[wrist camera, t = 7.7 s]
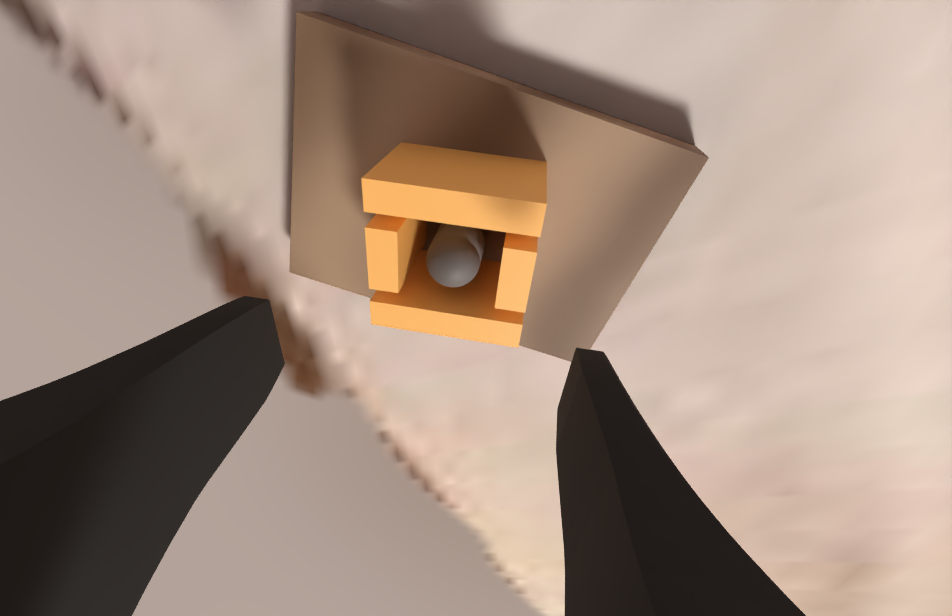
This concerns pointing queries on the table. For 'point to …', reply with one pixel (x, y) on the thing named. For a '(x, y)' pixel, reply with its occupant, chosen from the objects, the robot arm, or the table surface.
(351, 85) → the keeper base
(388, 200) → the orange hollow frame block
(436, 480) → the table surface
